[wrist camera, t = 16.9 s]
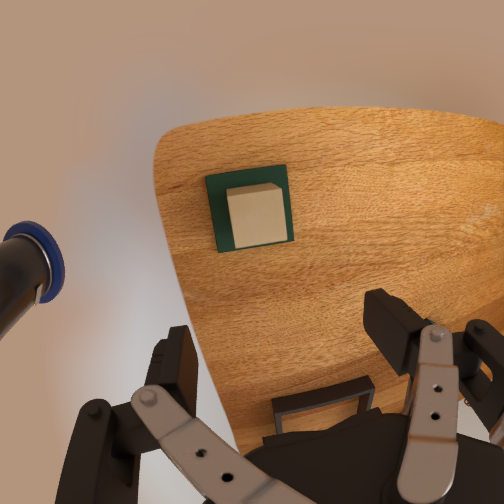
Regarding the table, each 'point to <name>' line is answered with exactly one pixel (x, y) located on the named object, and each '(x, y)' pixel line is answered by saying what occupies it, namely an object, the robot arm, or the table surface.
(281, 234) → the block
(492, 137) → the table surface
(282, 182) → the mat
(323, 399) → the dark grey rectangular frame
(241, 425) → the table surface
